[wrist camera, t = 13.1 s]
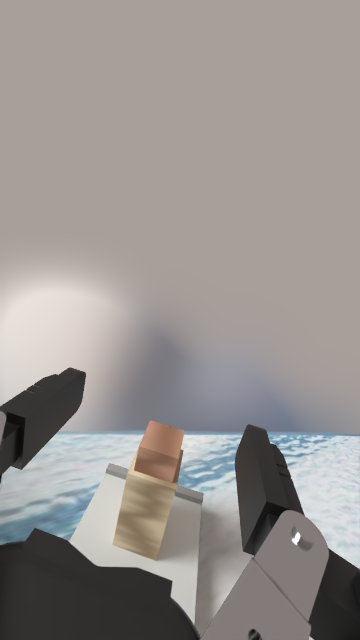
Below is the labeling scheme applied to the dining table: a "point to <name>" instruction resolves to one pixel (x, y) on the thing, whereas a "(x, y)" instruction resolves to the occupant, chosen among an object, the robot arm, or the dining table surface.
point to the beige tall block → (149, 491)
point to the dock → (175, 548)
